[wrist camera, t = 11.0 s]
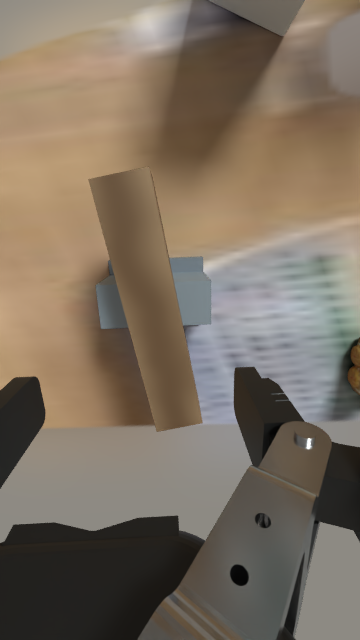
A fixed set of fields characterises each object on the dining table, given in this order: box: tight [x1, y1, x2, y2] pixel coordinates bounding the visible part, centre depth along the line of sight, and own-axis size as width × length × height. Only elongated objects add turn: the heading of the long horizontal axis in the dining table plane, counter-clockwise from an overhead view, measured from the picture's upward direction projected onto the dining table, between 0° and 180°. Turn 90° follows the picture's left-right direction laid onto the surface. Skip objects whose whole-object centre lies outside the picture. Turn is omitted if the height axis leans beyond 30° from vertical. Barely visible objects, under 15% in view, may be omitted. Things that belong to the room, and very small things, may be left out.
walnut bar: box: [88, 166, 202, 432], centre depth 23 cm, size 4×20×4 cm, turn 11°
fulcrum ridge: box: [96, 257, 211, 329], centre depth 28 cm, size 10×7×7 cm
